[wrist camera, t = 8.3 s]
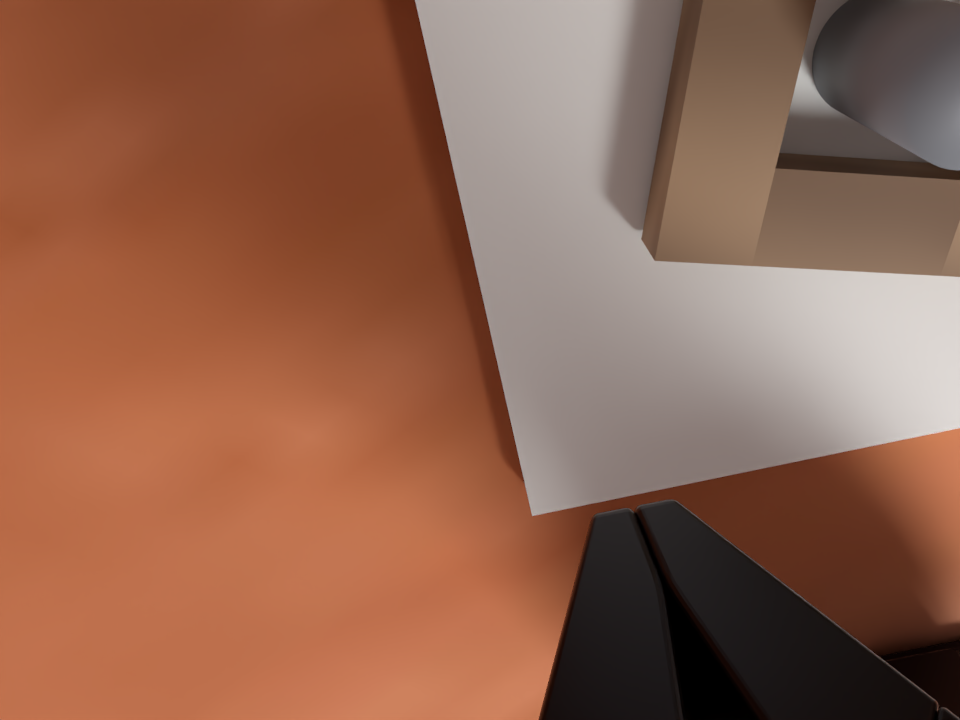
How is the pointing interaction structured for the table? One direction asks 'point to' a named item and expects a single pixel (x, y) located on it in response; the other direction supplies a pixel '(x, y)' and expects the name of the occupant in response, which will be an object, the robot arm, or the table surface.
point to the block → (779, 163)
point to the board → (678, 285)
